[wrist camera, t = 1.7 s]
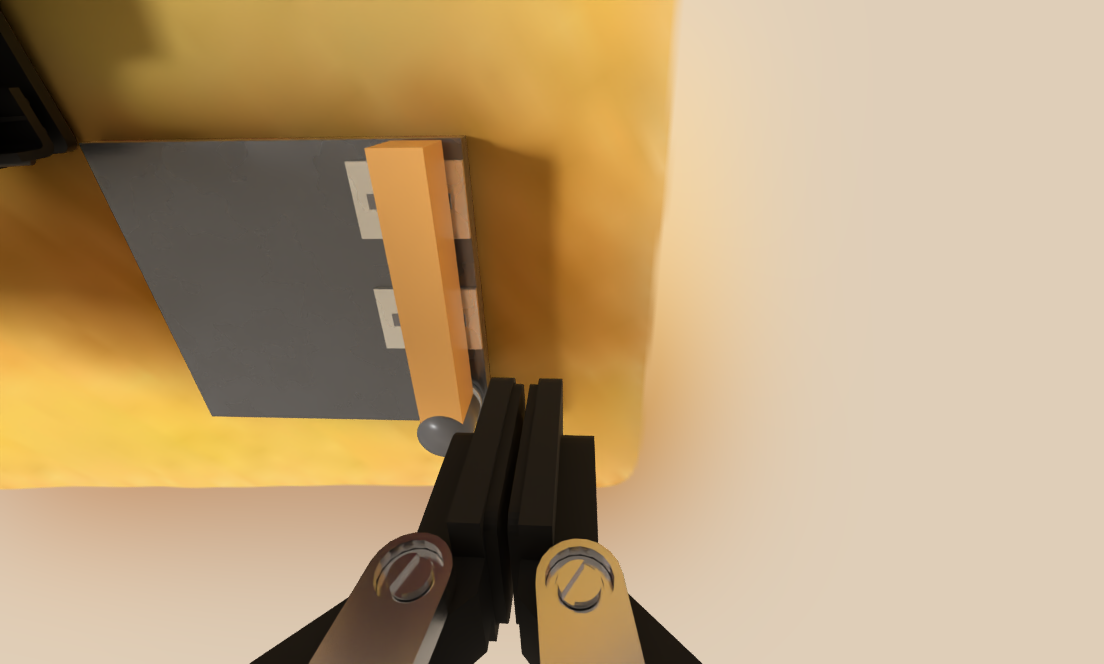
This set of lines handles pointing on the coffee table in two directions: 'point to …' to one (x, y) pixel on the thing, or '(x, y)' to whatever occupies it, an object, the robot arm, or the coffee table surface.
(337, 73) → the coffee table surface
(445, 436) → the bar
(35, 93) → the dark grey toy house
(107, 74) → the coffee table surface
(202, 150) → the tray
